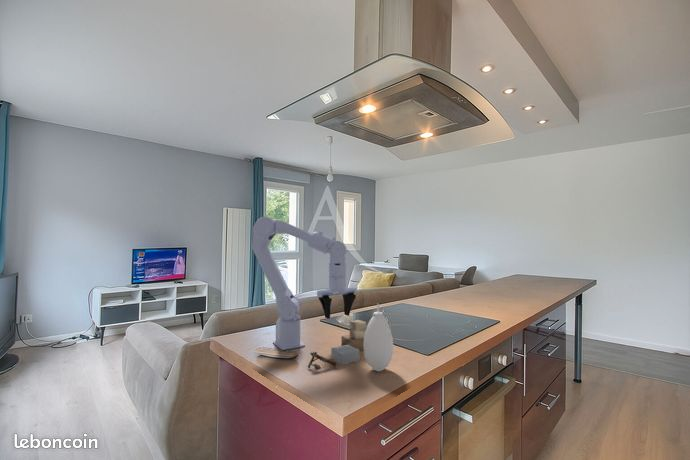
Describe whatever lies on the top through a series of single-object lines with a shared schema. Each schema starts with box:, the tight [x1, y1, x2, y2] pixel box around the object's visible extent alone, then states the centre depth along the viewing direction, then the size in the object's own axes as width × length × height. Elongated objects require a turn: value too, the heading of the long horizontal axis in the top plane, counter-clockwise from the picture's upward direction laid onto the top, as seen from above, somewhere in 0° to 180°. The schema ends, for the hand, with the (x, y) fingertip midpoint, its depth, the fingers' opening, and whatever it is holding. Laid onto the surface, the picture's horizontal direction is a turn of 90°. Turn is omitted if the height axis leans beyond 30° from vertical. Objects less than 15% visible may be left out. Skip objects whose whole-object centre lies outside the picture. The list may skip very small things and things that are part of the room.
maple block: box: [349, 319, 367, 340], centre depth 105 cm, size 4×4×5 cm
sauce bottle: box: [363, 302, 394, 372], centre depth 85 cm, size 8×8×18 cm
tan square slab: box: [340, 334, 364, 352], centre depth 104 cm, size 8×8×3 cm
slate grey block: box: [330, 345, 360, 366], centre depth 92 cm, size 6×6×3 cm
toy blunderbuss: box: [307, 351, 339, 370], centre depth 86 cm, size 2×8×4 cm, turn 98°
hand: (337, 316), depth 106 cm, fingers open, 7 cm apart
